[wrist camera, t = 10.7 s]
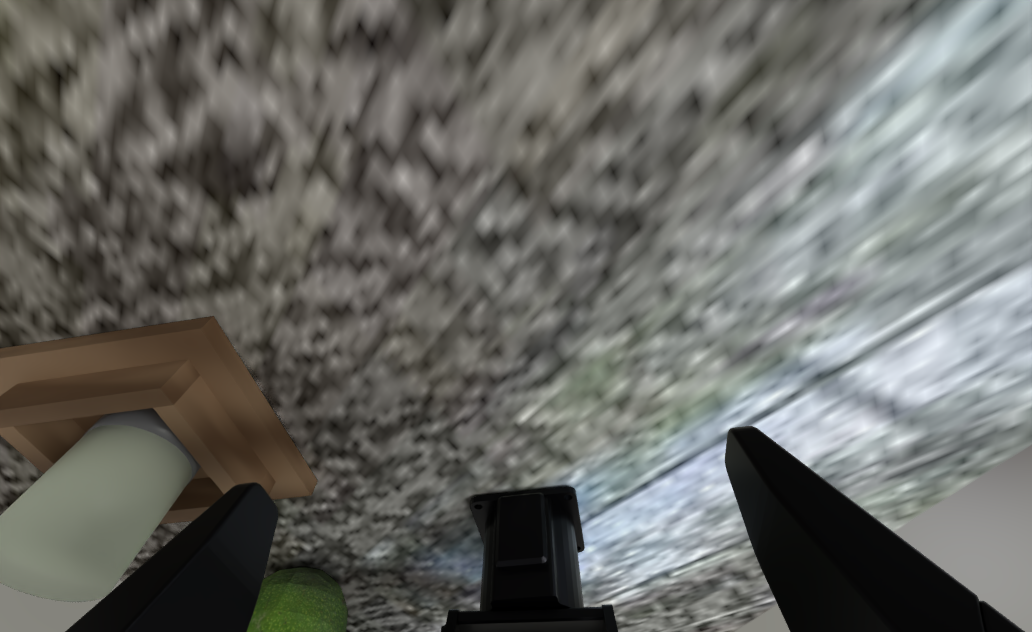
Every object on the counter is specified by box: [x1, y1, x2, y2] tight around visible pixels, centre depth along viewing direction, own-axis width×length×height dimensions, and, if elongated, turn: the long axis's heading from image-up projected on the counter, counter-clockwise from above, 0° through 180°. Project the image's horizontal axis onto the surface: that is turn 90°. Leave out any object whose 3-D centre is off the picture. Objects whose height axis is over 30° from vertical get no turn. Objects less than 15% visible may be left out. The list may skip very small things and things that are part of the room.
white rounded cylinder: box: [0, 408, 201, 602], centre depth 21 cm, size 5×5×7 cm
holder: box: [0, 316, 317, 524], centre depth 24 cm, size 12×12×3 cm
